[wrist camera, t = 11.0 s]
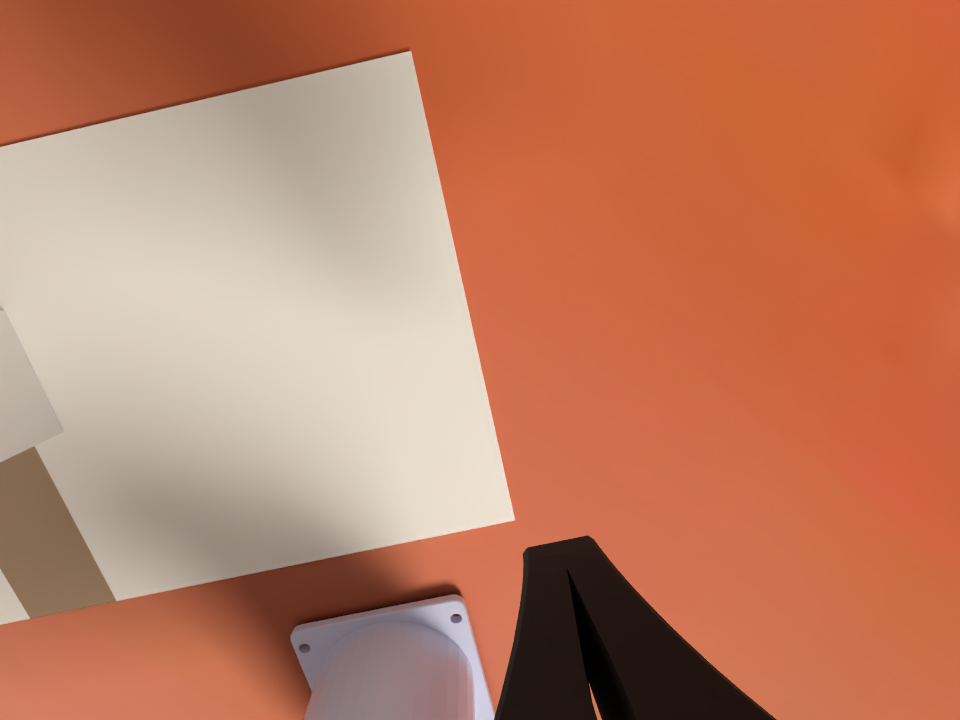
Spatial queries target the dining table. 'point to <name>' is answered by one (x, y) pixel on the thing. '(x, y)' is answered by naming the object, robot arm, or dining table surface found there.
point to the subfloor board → (238, 342)
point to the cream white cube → (21, 398)
